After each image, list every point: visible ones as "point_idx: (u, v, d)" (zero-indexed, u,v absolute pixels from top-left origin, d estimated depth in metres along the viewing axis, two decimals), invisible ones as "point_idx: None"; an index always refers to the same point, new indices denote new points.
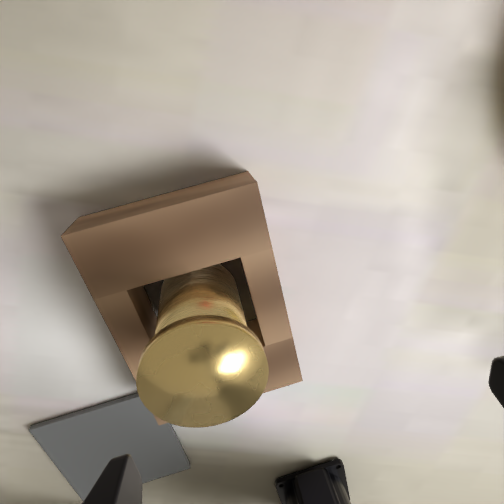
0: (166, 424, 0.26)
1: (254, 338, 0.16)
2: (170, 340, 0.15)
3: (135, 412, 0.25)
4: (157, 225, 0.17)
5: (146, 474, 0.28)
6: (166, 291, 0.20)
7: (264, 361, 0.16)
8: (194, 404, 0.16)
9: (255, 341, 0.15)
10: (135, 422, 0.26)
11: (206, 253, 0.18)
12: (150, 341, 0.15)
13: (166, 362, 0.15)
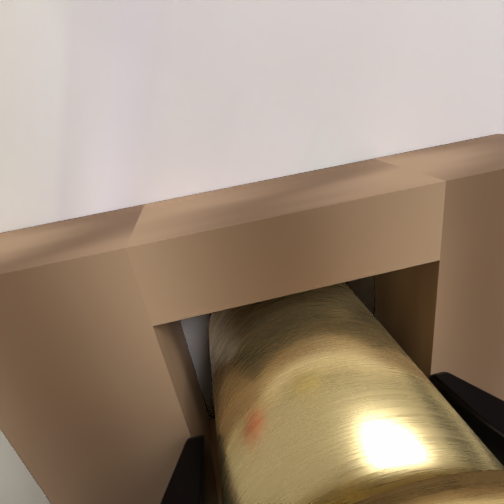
0: None
1: None
2: None
3: None
4: (70, 474, 0.08)
5: None
6: None
7: None
8: None
9: None
10: None
11: (139, 395, 0.08)
12: None
13: None
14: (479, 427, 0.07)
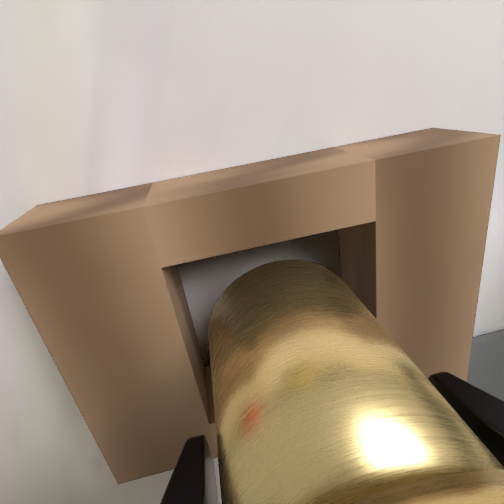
0: (480, 344, 0.17)
1: None
2: None
3: None
4: (97, 388, 0.11)
5: None
6: None
7: None
8: None
9: None
10: None
11: (150, 323, 0.10)
12: None
13: None
14: (479, 427, 0.07)
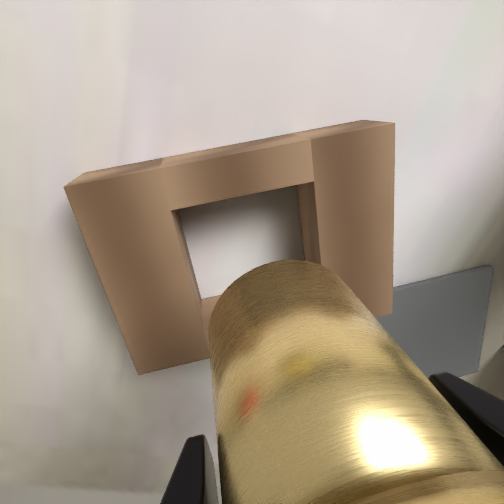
0: (413, 288, 0.22)
1: None
2: None
3: (382, 316, 0.22)
4: (126, 297, 0.16)
5: (475, 314, 0.24)
6: None
7: None
8: None
9: None
10: (395, 318, 0.23)
11: (163, 250, 0.15)
12: None
13: None
14: (479, 427, 0.07)
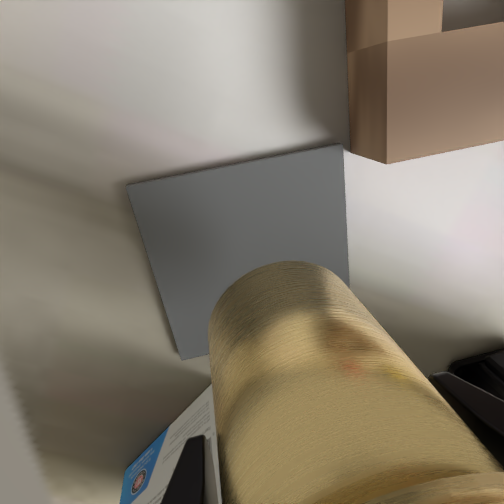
0: (343, 221, 0.16)
1: None
2: None
3: (304, 184, 0.15)
4: None
5: None
6: None
7: None
8: None
9: None
10: (299, 205, 0.15)
11: None
12: None
13: None
14: (479, 427, 0.07)
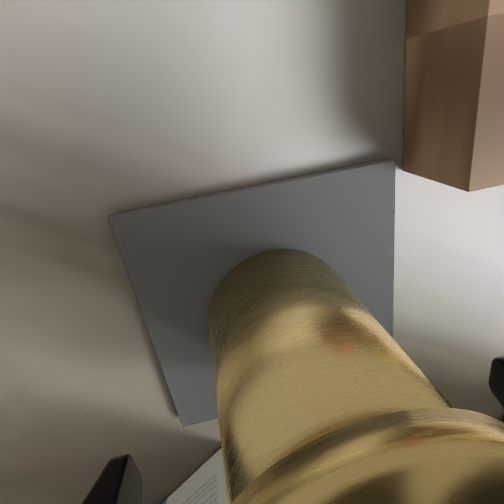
0: (390, 257, 0.12)
1: (305, 493, 0.04)
2: None
3: (343, 211, 0.11)
4: None
5: None
6: None
7: (409, 479, 0.04)
8: None
9: None
10: (335, 238, 0.12)
11: None
12: None
13: None
14: None
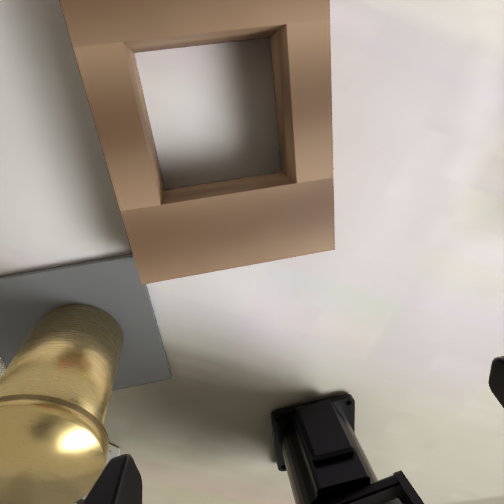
0: (148, 308, 0.20)
1: None
2: None
3: (110, 283, 0.19)
4: None
5: None
6: None
7: None
8: (64, 473, 0.14)
9: None
10: (108, 297, 0.20)
11: (241, 4, 0.13)
12: None
13: None
14: None
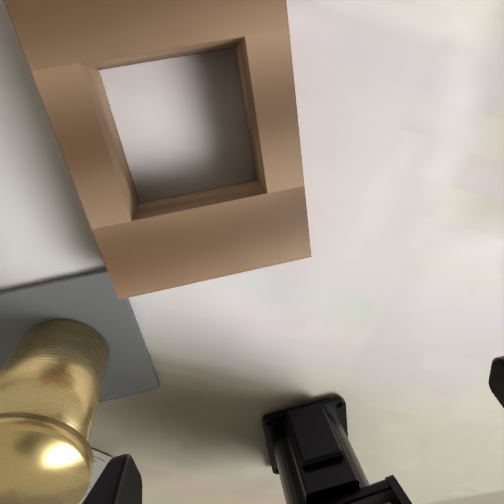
0: (131, 320, 0.21)
1: None
2: None
3: (91, 297, 0.20)
4: None
5: (102, 390, 0.22)
6: None
7: None
8: (49, 489, 0.14)
9: None
10: (90, 312, 0.20)
11: (197, 19, 0.13)
12: None
13: None
14: None
